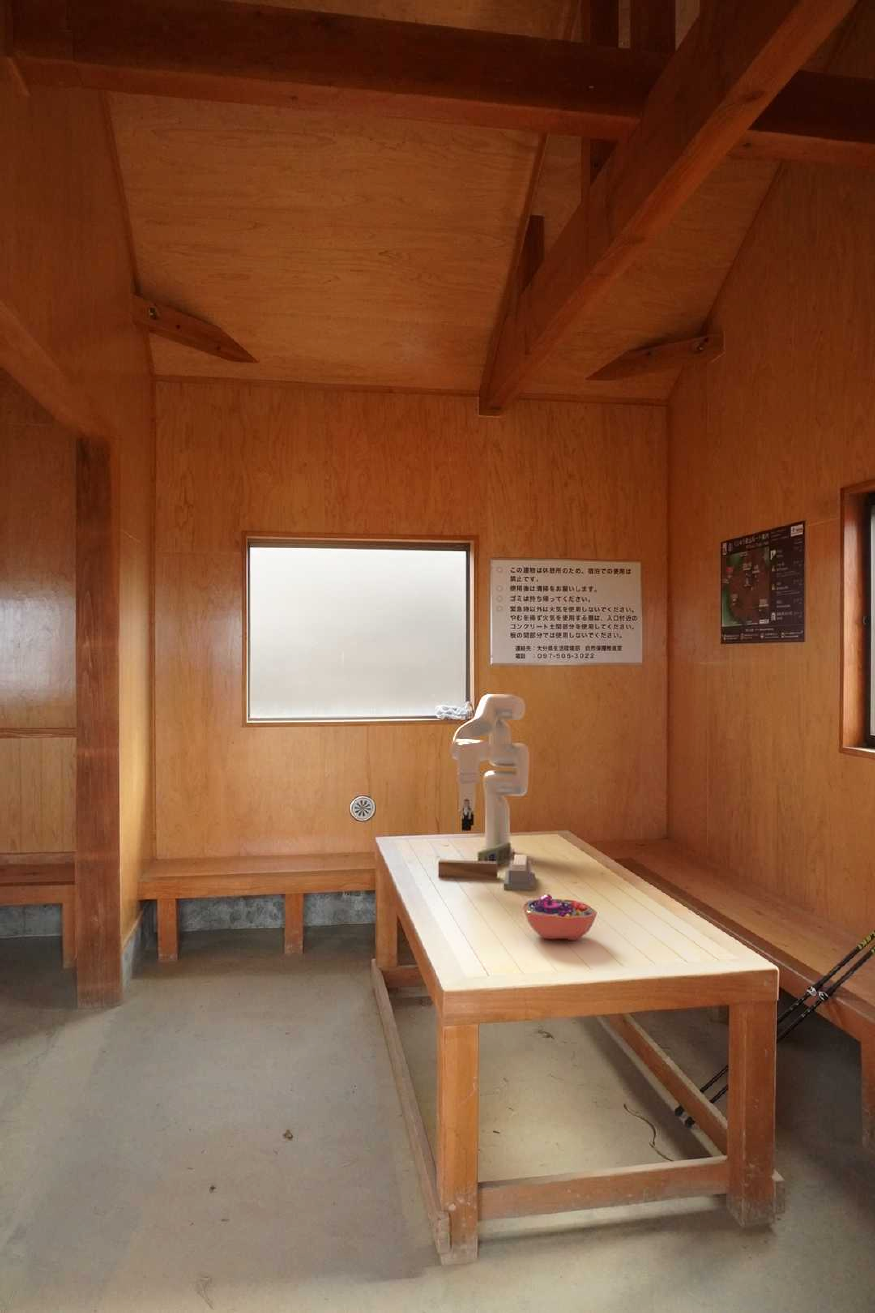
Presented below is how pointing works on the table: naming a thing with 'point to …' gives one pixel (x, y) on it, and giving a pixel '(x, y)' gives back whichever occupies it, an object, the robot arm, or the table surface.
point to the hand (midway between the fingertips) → (467, 827)
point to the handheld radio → (496, 853)
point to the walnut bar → (467, 869)
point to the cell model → (559, 917)
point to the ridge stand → (519, 875)
